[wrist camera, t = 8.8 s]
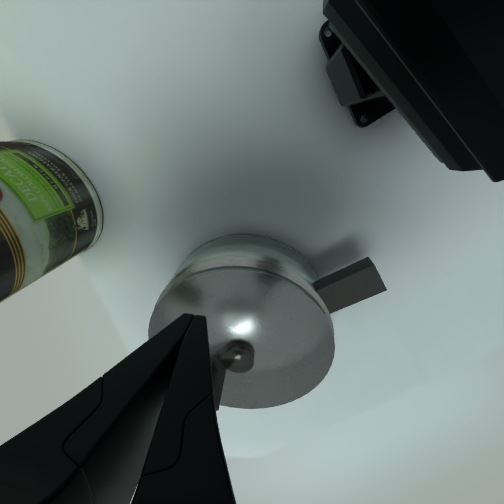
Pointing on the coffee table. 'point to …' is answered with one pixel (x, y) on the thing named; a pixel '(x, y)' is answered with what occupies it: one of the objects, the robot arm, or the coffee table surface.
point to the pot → (285, 269)
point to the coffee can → (42, 213)
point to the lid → (254, 333)
